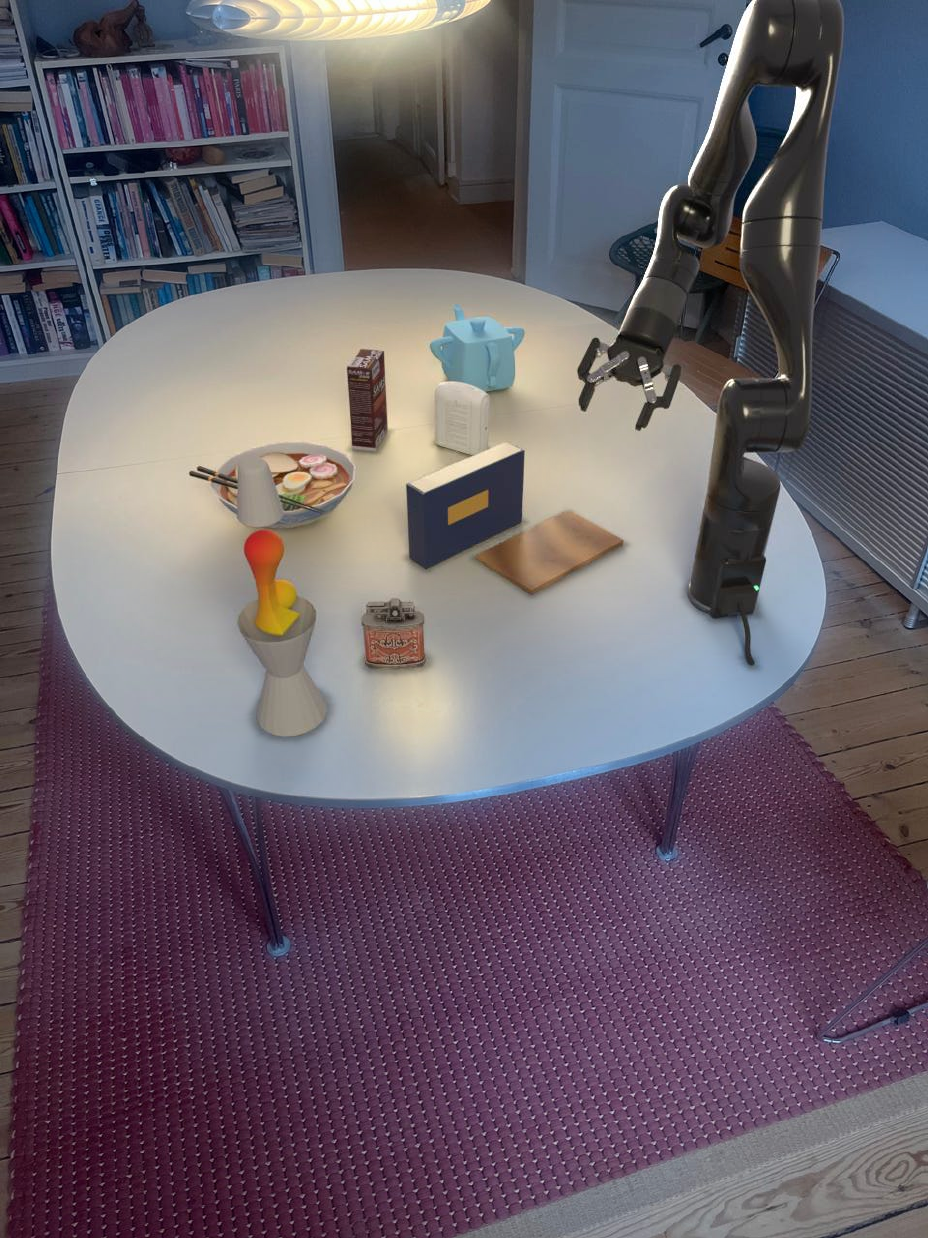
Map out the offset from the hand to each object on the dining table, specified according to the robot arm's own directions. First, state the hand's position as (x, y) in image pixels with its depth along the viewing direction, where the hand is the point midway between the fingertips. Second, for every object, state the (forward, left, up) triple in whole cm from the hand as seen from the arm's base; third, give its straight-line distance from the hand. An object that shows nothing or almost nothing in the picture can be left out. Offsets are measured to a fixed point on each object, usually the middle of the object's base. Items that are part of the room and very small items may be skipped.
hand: (610, 419), depth 138 cm
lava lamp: (-31, +50, -20) cm, 62 cm away
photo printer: (+33, +16, -20) cm, 41 cm away
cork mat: (-3, +9, -20) cm, 22 cm away
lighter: (-24, +36, -20) cm, 48 cm away
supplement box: (+39, +32, -20) cm, 54 cm away
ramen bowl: (+16, +48, -20) cm, 54 cm away
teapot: (+61, +8, -20) cm, 64 cm away
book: (+3, +21, -20) cm, 29 cm away
